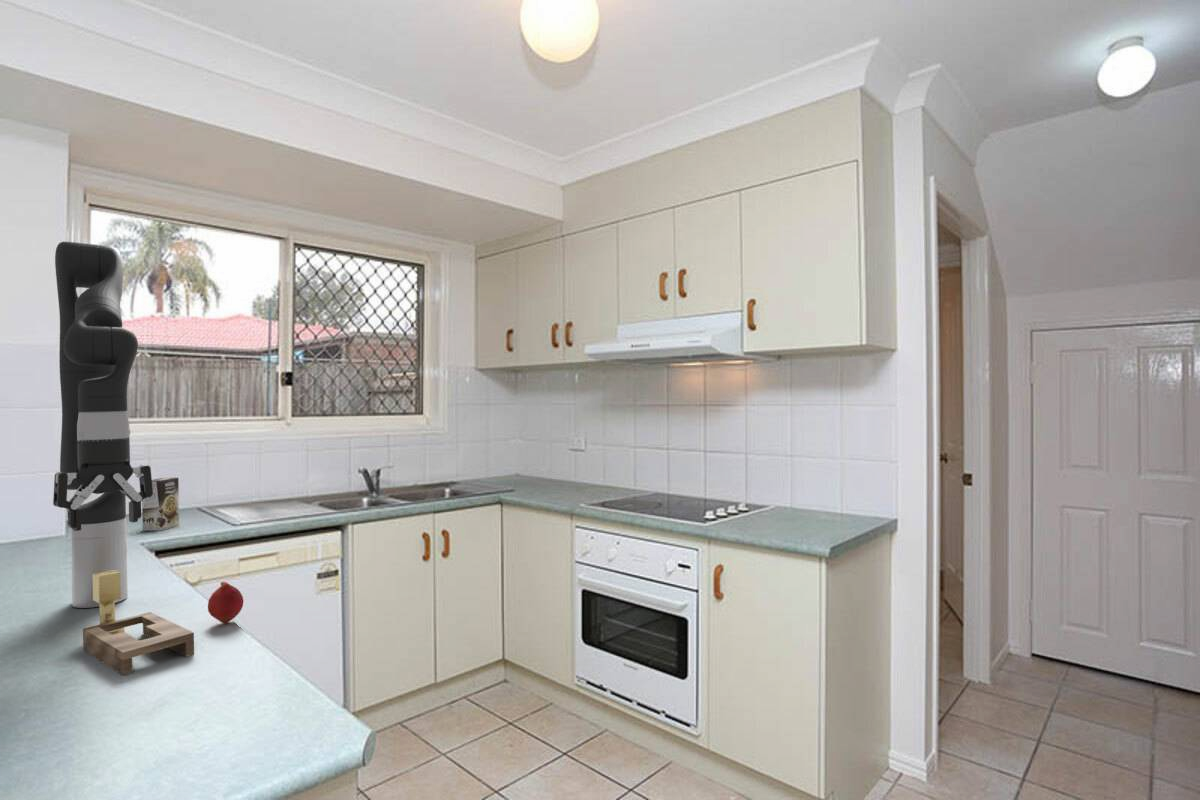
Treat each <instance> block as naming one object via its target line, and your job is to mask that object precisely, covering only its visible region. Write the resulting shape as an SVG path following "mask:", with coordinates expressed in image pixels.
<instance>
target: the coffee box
mask: <svg viewBox="0 0 1200 800" xmlns="http://www.w3.org/2000/svg"><path fill="white" fill-rule="evenodd" d="M179 484H180V483H179V477H160V478H159V477H158V478H154V479H152V489H153V495H152V496H151V497H147V498H145V499H143V500H142V501H141V517H142V519H141V520H142V523H141V524H142V525H141V526H142V527H141V528H142V531H144V532H145V531H156V532H157V531H158V532H159V531H163V530H167V529H170V528H174V527H178V526H180V499H179V498H180V496H179V495H180V494H179V492H180V491H179V490H180V489H179V486H180V485H179Z"/></svg>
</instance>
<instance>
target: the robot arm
mask: <svg viewBox="0 0 1200 800" xmlns="http://www.w3.org/2000/svg"><path fill="white" fill-rule="evenodd" d="M54 253H55V255H54V263H55V264H54V266H55V267H54V268H55V277H56V279H55V280H56V289H57V290H56V291H57V297H58V298H57V299H58V310H59V311H58V312H59V355H58V356H59V359H58V360H59V383H60V396H61V432H60V433H61V436H60V440H61V441H60V457H59V458H60V460H59V471H57V472H56V473H55V474H54V480H53V481H54V482H53V500H52V505H53V506H55V508H56V507H57V508H60V509H63V508H64V509H66V510H67V511H66V512H67V525H68V528H70V542H71V543H70V545H71V546H70V547H71V550H70V551H71V552H70V553H71V595H72V596H71V599H72V601H71V602H72V604H71V605H72V607H73V608H79V609H86V608H87V609H88V608H97V607H98V608H99V607H100V606H99V603H98V602H96V601H94V600H93V574H94V573H99V572H104V571H110V570H116V571H118V572H120V586H121V599H117V600H115V604H116V603H119V602H121V601H122V602H123V601H124V600H126V599H127V598H128V554H127V553H128V551H127V550H128V547H127V518H126V517H127V510H126V508H127V505H126V502H127V501H126V500H127V499H129V500H130V501H128V521H129V523H138V521H139V519H140V518H141V517H142V500H143V499H145V498H147V497H151V496H152V495H153V489H152V480H153V479H152V469H151V466H150V465H146V464H140V465H139V466H134V467H132V465H131V452H130V451H131V447H130V445H131V444H130V442H131V441H130V440H131V439H130V435H131V429H130V420H129V415H128V386H129V385H128V383H129V378H130V375H131V370H132V368H133V364H134V362H135V358H136V355H137V353H138V348H139V345H138V344H139V341H138V338H137V336H136V335H135V332H134V331H132V330H131V329H130V328H127V327H123V319H122V312H121V299H122V294H123V280H124V264H123V259H122V255H121V253H120V251H119V250H118V249H117V248H115V247H112V246H110V245H109V246H108V245H102V244H96V243H95V244H92V243H84V242H78V241H77V242H75V241H61V242H59V243H58V244H57V246H56V249H55V252H54ZM78 288H81V289H82V288H84V289H86V290H84V291H82V292H81V294H80V295H78V292H77V289H78ZM133 474H134V475H135V478H138V480H139V492H137V490H136V489H135V488H134V487H133V485H132V484H130V483H129V482H128V481H129V479H130V478H131V477H132V475H133ZM68 491H75V492H74V493H73V495H72V497H70V499H69V500H67V498H68V496H67V495H68ZM92 494H95V495H99V494H101V495H100V496H98V497H96V498H95V499H93V500H91V501H89V502H86V503H84V502H85V501H86V500H87V499H88V498H89V497H90V496H91V495H92ZM126 498H127V499H126Z"/></svg>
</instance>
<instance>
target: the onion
mask: <svg viewBox="0 0 1200 800" xmlns="http://www.w3.org/2000/svg"><path fill="white" fill-rule="evenodd" d="M243 606H244V597H243V594H242V592H241V591H240V590H239V589H238V588H237V587H236V586H233V585H231V584H230V583H228V582H227V581H224V580H223V581H221V582H220V587H218V588H217V589H215V591H214V592H213V593H211V595H210V597H209V599H208V603H207V611H208V613H209V614H210V616H211V617H213V618H214V619H216V620H217V621H219V622H220V623H221V624H224V623H225V624H228V623H230V622H231V621H232V620H234V619H235V618H236V617H237V616H238V615H239V614H240V613H241V611H242V609H243Z"/></svg>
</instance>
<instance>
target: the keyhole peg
mask: <svg viewBox="0 0 1200 800" xmlns="http://www.w3.org/2000/svg"><path fill="white" fill-rule="evenodd" d="M117 599H121V586H120V572H118V571H116V570H110V571H104V572H99V573H94V574H93V600H94V601H96V602H98V603H99V606H98V607H99V625H100V624H104V623H108V622H112V621H116V603H115V600H117ZM121 632H125V627H124V628H120V629H116V630H112V631H108V633H110V634H112V635H114V634H117V633H121Z"/></svg>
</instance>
